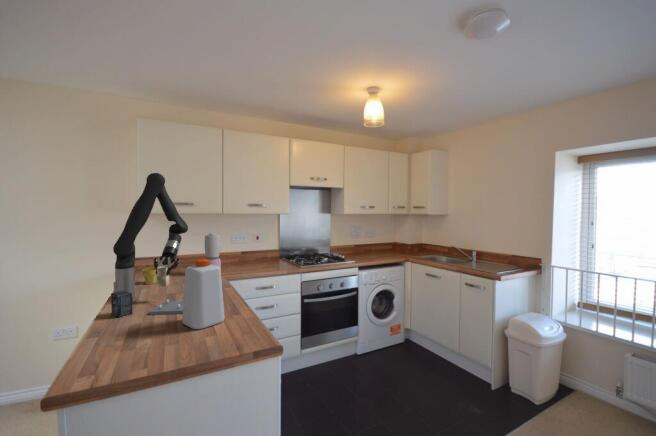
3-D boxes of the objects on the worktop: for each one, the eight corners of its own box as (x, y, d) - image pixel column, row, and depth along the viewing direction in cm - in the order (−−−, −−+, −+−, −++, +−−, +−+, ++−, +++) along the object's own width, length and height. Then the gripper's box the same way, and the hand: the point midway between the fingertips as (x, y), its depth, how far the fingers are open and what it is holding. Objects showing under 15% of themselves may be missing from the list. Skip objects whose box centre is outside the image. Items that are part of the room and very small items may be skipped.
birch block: (157, 286, 162) (157, 267, 162) (160, 284, 167) (160, 266, 167) (165, 286, 163) (165, 267, 163) (169, 284, 167) (169, 266, 167)
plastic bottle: (210, 314, 145) (210, 256, 144) (228, 321, 135) (227, 259, 134) (178, 323, 133) (177, 260, 132) (195, 332, 123) (194, 264, 123)
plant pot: (139, 284, 204) (138, 269, 203) (154, 280, 213) (153, 267, 213) (148, 285, 199) (148, 271, 199) (163, 282, 208) (163, 268, 208)
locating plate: (148, 314, 144) (148, 307, 143) (163, 304, 159) (163, 297, 159) (183, 313, 145) (183, 306, 145) (194, 303, 161) (194, 296, 161)
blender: (216, 276, 226) (215, 234, 225) (201, 276, 227) (200, 234, 227) (225, 272, 242) (225, 232, 241) (211, 271, 243) (210, 232, 242)
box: (111, 315, 143) (110, 293, 143) (124, 311, 148) (123, 290, 148) (119, 318, 140) (119, 295, 139) (132, 314, 144) (132, 292, 144)
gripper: (156, 245, 172) (145, 270, 160) (182, 245, 173) (174, 270, 162) (160, 253, 177) (150, 278, 165) (185, 253, 179) (177, 278, 167)
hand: (162, 274), depth 163 cm, fingers closed on birch block, 4 cm apart
